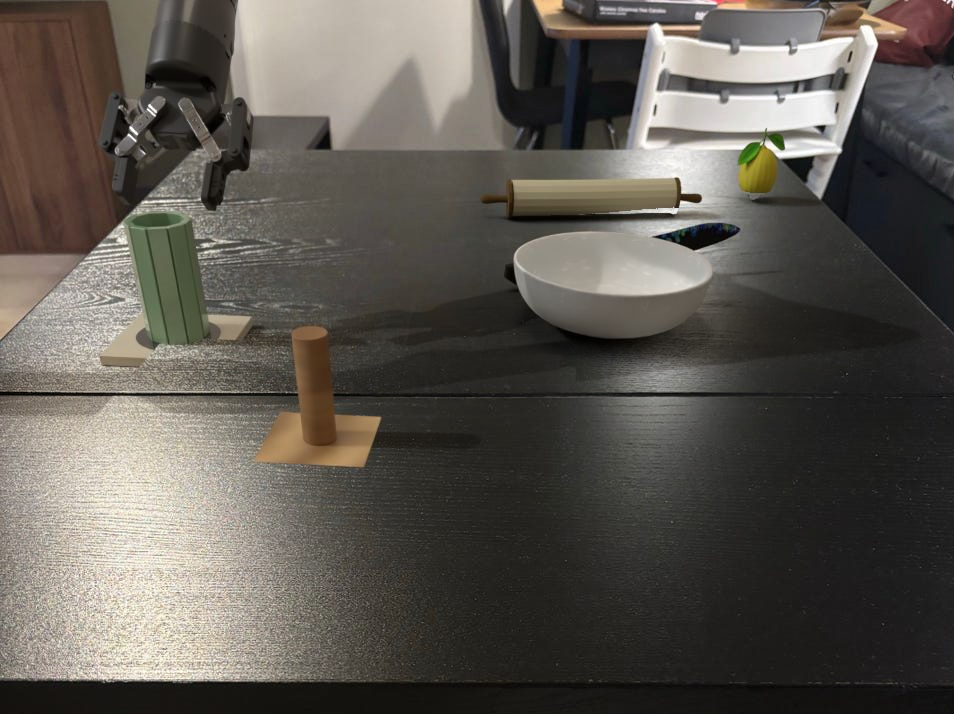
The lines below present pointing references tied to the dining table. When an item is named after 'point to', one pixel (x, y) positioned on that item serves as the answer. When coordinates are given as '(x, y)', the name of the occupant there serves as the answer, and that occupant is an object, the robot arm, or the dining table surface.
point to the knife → (678, 239)
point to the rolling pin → (589, 196)
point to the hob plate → (138, 346)
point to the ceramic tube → (168, 276)
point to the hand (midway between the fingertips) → (165, 203)
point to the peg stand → (317, 414)
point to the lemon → (759, 165)
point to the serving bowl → (611, 282)
